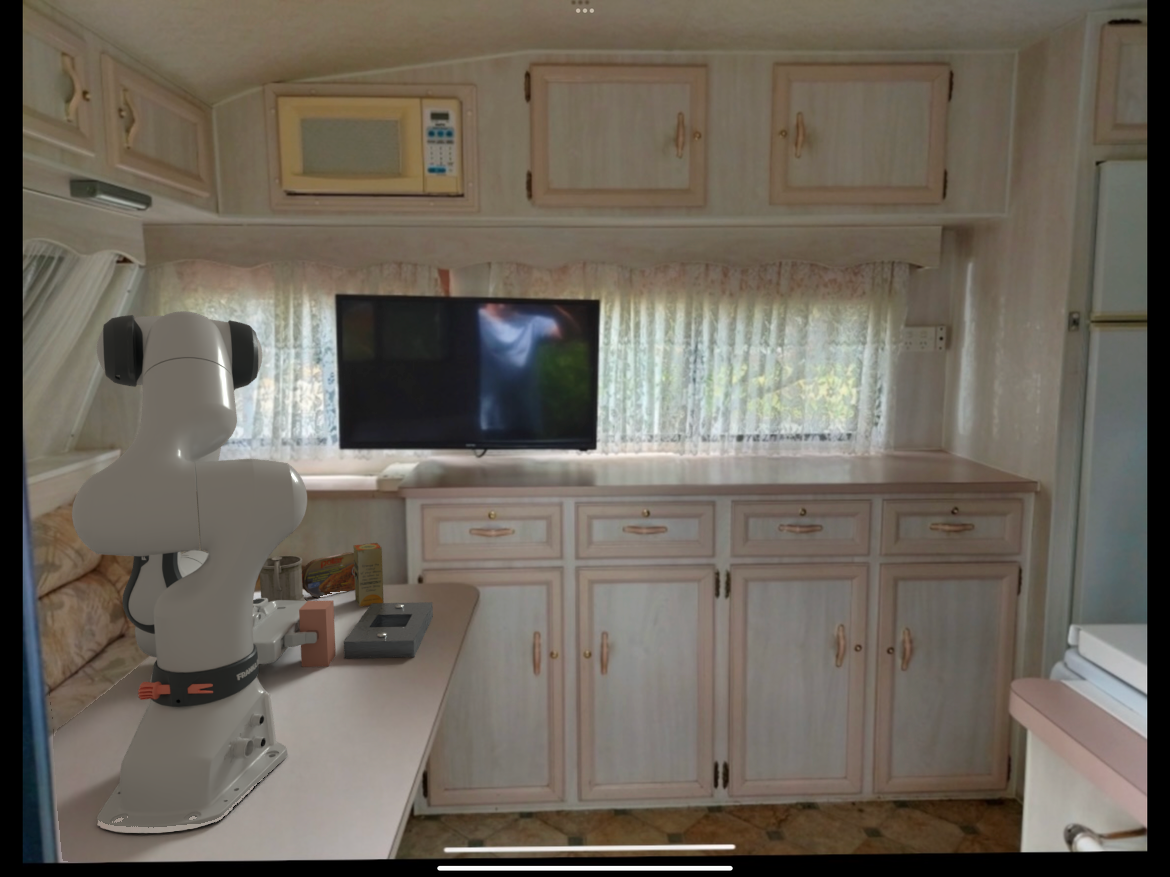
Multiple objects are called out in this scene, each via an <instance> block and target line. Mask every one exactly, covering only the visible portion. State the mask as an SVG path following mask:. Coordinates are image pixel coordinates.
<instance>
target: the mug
mask: <svg viewBox="0 0 1170 877" xmlns="http://www.w3.org/2000/svg"><path fill="white" fill-rule="evenodd" d="M302 563H303V558H302V557H301V556H297V555H277V556H271V557H268V559H267V560H266V562H265V563H264V565H263V567H262V569H261V571H260V573H259V584H260V598H267V599H268V602H270V601H276V600H294V601H306V600H307V599H306V598H305V597H304V596H305V595H304V594H303V590H304V589H303V587H302V571H303V569H302ZM305 599H306V600H305ZM307 601H308V600H307ZM307 601H306V602H307Z"/></svg>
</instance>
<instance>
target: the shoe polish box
mask: <svg viewBox="0 0 1170 877" xmlns="http://www.w3.org/2000/svg"><path fill="white" fill-rule="evenodd" d="M353 553H354V574H355V590H354V593H355V601H357V602H356V604H357V605H358V606H359V608H361V607H362V606H363V607H368V606H370V605H371V604H372V603H385V602H384V579H383V578H384V574H383V549H382V546H381V545H380V544H379V543H378V542H370V543H363V544H354V545H353ZM363 607H362V608H363Z"/></svg>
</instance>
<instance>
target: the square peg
mask: <svg viewBox="0 0 1170 877" xmlns="http://www.w3.org/2000/svg"><path fill="white" fill-rule="evenodd" d="M299 620H300V632H307V631H308V630H317V631H318V632H319V639H318V640H317V641H316V642H315V643H306V644H303V645H300V655H301V656H300V658H301V660H300V661H301V667H302V668H308V667H309V668H313V667H315V668H316V667H317V668H318V667H323V668H324V667H329V666H330V664H331V663H333V660H335V658H336V654H337V653H336V632H335V628H336V627H335V607H334V600H307V602H306V603H305V604H304V605H303V606H302V607H301V608H300V609H299Z"/></svg>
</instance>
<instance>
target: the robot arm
mask: <svg viewBox="0 0 1170 877" xmlns="http://www.w3.org/2000/svg"><path fill="white" fill-rule="evenodd" d="M96 354H97V360H98V362H99V364H100V366H101V369H102V370H103V371H104V373H105V376H106V377H107V378H108V379H109V380H110V381H111V382H113V383H114V384H118V385H122V386H128V387H134V388H136V387H137V386H141V387H142V401H141V402H142V405H141V407H142V408H141V418H140V425H139V429H138V432H137V434H136V435H135V438H134V439H133V440H132V443H131V444H130V445H129V446H128V448H127V449H126V450H125V451H124V452H123V453H122V454H121V455H120V456H119V457H118V458H117V459H116V460H115V461H113V462H111V464H109V465H107V466H106V467H104V468H103V469H101V470H100V471H98V472H96V473H94V474H92V475H91V476H90V477H89V478H87V479H86V480H85V481H84V483H83V484H82V485H81V486H80V488H79V489H78V491H77V493H76V494H75V498H74V500H73V503H72V510H71V511H72V512H71V518H72V523H73V529H74V531H75V532H76V535H77V536H78V538H79V539H80V541H81V542H82V543H83V545H85V547H87V548H88V549H89V550H91V551H92V552H93V553H95V554H97V555H106V556H107V555H108V556H122V557H123V556H125V557H133V564H132V570H131V573H130V576H129V578H128V580H127V583H126V585H125V588H124V590H123V594H122V599H121V601H122V608H123V610H124V614H125V616H126V617H127V619H128V620H129V621H130V622H131V623H132V625H133V626H134V627H135V628H134V634H135V635H134V636H135V641H136V643H137V646H138V648H139V649H140V650H141V651H142V652H143V653H144V654H146V655H148V656H150V657H153V658H156V660H155V661H154V663H153V668H152V673H151V674H150V681H143V682H141V683H140V685H139V688H138V689H137V692H138V693H137V695H138V699H139V700H143V701H144V700H150V702H149V704H148V706H147V708H146V710H145V713H144V714H143V715H142V718H141V720H140V722H139V724H138V727H137V728H136V731H135V733H134V735H133V737H132V740H131V742H130V744H129V746H128V749H127V750H126V752H125V754H124V757H123V759H122V761H121V766H120V773H119V774H120V777H119V783H118V784H117V786H116V787H115V788H114V790H113V791H112V793H111V794H110V796H109V798H108V799H107V800H106V802H105V803H104V804H103V807H102V808H101V810H100V811H99V813H98V815H97V817H96V821H97V820H99V821H100V822H101V821H102V822H103V823H105V824H108V825H109V824H110V825H114V826H126V827H131V826H132V827H133V826H134V827H135V826H136V827H137V826H138V827H148V828H149V827H153V828H154V827H167V826H176V825H187V824H201V823H205V822H208V821H212V820H215V819H217V818H219V817H221V816H222V815H224V813H225V812H226V811H227V810H229V808H231V807H232V805H233V804H235V802H237V801H238V800H239V799H240V798H241V796H243V795H244V794H245V793H246V792H247V791H248V790H250V788H251V787H252V786H254V785H255V784H256V783H258V782H259V781H260V780H261V779H263V777H265V776H266V775H267V774H268V773H269V772H270V771H271V770H273V769H274V768H275V767H276V766H277V765H278V764H279V763H280V764H281V763H282V762H284V760H285V759H286V758H287V757H288V749H287V748H288V747H287V746H286V745H284V744H283V743H281V742H279V741H277V734H276V727H275V720H274V719H275V718H274V713H273V711H274V710H273V705H272V697H271V694H270V693H269V691H267V690H266V689H265V688H264V687H263V684H261V682H260V680H259V678H258V676H259V673H260V666H259V665H268V664H272V663H275V662H276V661H278V659H279V658H280V657H281V656H282V654H283V653H284V652H286V650H287V649H288V648H295V647H298V646H301V645H303V644H306V643H315V642H316V641H317V640H318V639H319V632H318V631H317V630H308V631H307V632H300V620H299V609H300V608H301V607H302V606H303V605H304V604H305V603H306V601H294V600H276V601H270V602H268V599H267V598H261V597H258V598H255V597H254V596H255V590H256V585H257V581H258V579H259V577H260V571H261V569H262V567H263V565H264V563H265V562H266V560H267V559H268V558H270V556H271V554H272V553H273V552H274V551H275V550H276V548H277V547H278V546H279V545H280V544H281V543H282V542H283V541H285V539H287V538H288V537H289V536H290V535H292V534H293V533H294V532H295V531H296V530H297V529H298V527H299V526H300V525H301V523H302V521H303V519H304V517H305V516H306V515H305V514H306V511H307V506H308V491H307V488H306V487H307V486H305V482H304V480H303V478H302V477H301V475H300V474H299V473H298V471H297V470H296V469H295V468H294V467H293V466H292V465H290V464H289V463H288V462H282V461H276V460H275V461H274V460H269V459H268V460H266V459H258V458H257V459H256V458H242V459H239V458H238V459H226V460H219V459H220V454H221V449H222V447H223V446H224V445H225V444H226V443H227V442H228V441H229V439H230V438H231V437H233V435H234V433H235V430H236V428H237V425H238V424H237V423H238V416H237V415H238V414H237V407H236V399H235V398H236V396H235V390H237V389H241V388H243V387H246V386H249V385H250V384H252V383H253V382H254V380H256V379H257V377H258V374H259V372H260V369H261V367H262V362H263V349H262V344H261V342H260V340H259V338H258V335H257V332H256V331H255V329H254V328H253V327H252V326H251V325H250V324H246V323H243V322H239V321H235V320H228V321H224V320H217V319H209V318H208V317H206V316H205V315H202V314H200V313H196V312H193V311H184V310H182V311H180V310H179V311H174V312H169V313H167V314H164V315H147V316H146V315H145V316H135V315H133V314H131V315H121V316H116V317H112V318H110V319H109V320H108V321H106V322H105V323H104V324H103V328H102V330H101V331H100V333H99V336H98V338H97V343H96ZM254 598H255V599H254ZM280 764H279V765H280ZM279 765H278V766H279ZM278 766H277V767H278ZM277 767H276V768H277ZM276 768H275V769H276ZM275 769H274V770H275ZM274 770H273V771H274ZM266 777H267V776H266ZM266 777H265V778H266ZM263 780H264V779H263ZM127 816H128V818H127ZM192 816H195V817H197V818H196V819H193V820H189V818H190V817H192ZM121 817H122V818H124V819H123V820H122V822H121V821H120V822H117V823H116V822H115V823H114V821H115V820H116V819H118V818H121ZM112 821H113V823H112Z"/></svg>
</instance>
